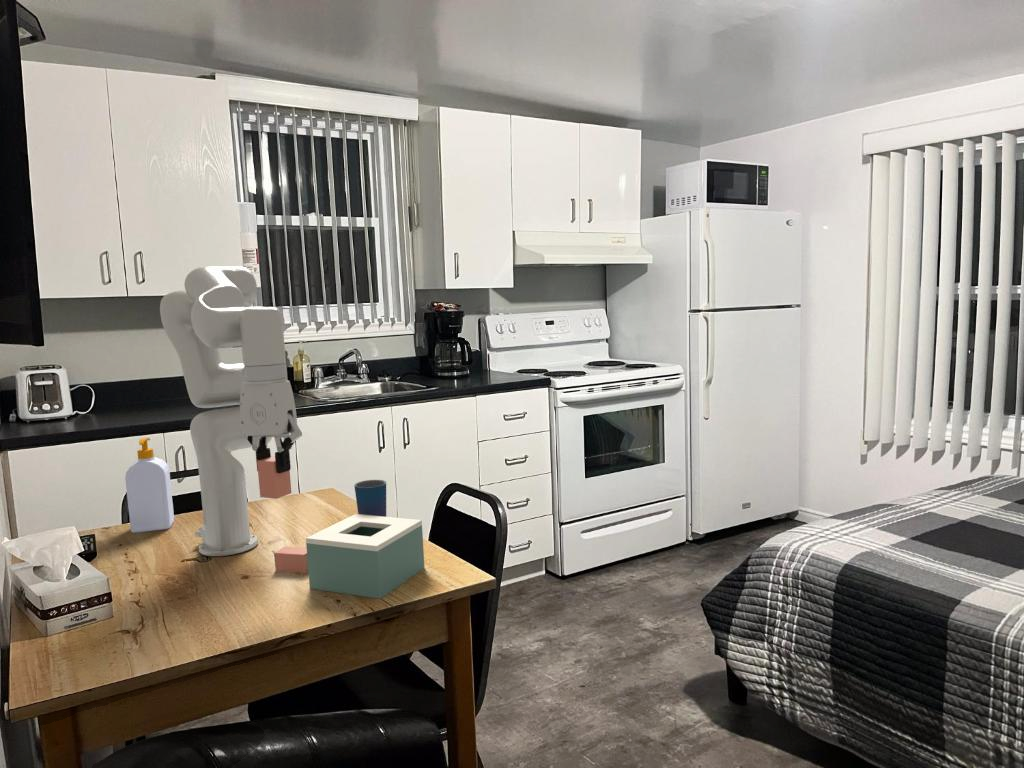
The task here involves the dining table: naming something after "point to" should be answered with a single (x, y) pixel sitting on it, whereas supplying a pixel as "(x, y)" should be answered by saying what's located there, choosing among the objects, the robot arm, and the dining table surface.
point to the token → (291, 559)
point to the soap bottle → (149, 492)
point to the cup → (371, 497)
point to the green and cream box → (365, 555)
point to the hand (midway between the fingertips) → (274, 469)
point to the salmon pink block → (272, 479)
